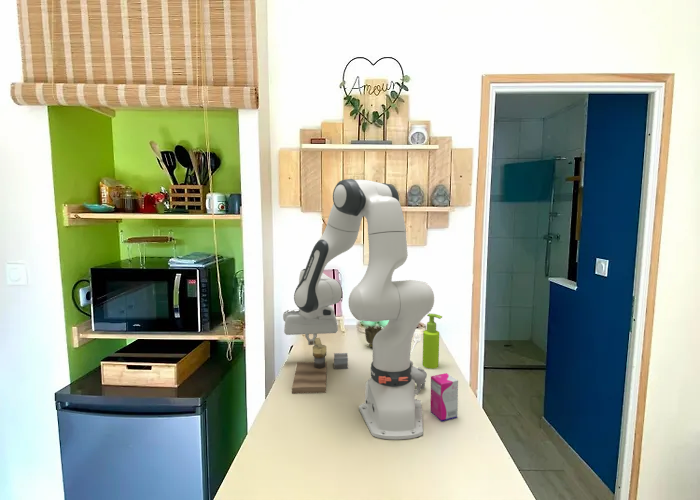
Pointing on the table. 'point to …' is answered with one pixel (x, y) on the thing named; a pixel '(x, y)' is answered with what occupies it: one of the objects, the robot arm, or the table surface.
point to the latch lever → (319, 349)
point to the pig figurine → (418, 376)
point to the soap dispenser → (431, 344)
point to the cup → (371, 334)
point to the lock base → (316, 374)
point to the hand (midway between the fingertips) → (311, 344)
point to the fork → (415, 342)
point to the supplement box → (444, 397)
